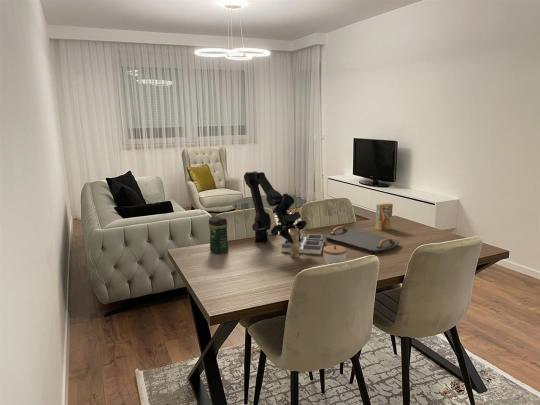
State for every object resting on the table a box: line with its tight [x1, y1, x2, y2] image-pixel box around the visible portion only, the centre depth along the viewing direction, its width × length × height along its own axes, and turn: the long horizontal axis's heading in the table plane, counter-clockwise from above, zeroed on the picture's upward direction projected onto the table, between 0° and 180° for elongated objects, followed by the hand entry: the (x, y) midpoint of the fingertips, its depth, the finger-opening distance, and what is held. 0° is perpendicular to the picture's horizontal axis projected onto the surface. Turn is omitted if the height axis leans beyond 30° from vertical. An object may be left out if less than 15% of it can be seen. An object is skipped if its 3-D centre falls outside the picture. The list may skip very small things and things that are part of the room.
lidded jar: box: [322, 244, 347, 265], centre depth 193 cm, size 11×11×9 cm
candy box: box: [375, 202, 394, 231], centre depth 248 cm, size 9×4×15 cm, turn 111°
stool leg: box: [289, 228, 300, 259], centre depth 204 cm, size 4×4×14 cm
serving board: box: [324, 225, 400, 255], centre depth 224 cm, size 39×23×6 cm, turn 41°
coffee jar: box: [208, 215, 229, 255], centre depth 211 cm, size 10×8×19 cm
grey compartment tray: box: [280, 232, 325, 255], centre depth 219 cm, size 20×20×4 cm
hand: (296, 242), depth 203 cm, fingers closed on stool leg, 4 cm apart
